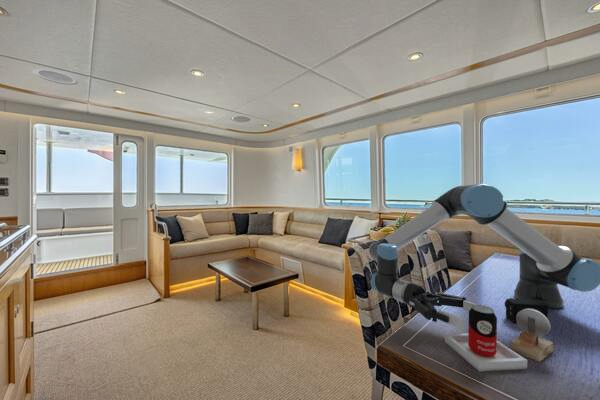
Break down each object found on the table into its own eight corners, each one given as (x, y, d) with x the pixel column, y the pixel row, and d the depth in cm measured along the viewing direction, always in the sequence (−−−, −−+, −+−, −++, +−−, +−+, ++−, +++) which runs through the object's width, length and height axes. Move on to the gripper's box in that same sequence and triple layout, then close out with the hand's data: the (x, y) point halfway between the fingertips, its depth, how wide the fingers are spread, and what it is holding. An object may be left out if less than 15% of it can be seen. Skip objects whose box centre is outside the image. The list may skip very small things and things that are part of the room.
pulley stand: (524, 339, 77) (524, 302, 77) (555, 351, 71) (556, 311, 71) (509, 349, 72) (509, 309, 72) (541, 363, 66) (542, 319, 66)
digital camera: (535, 318, 91) (535, 299, 91) (547, 326, 86) (548, 305, 86) (503, 316, 93) (503, 297, 93) (513, 323, 87) (513, 303, 87)
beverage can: (463, 347, 72) (463, 305, 71) (477, 343, 74) (478, 302, 74) (486, 361, 66) (487, 315, 66) (501, 355, 68) (502, 311, 68)
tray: (485, 339, 77) (485, 332, 77) (527, 368, 64) (527, 360, 64) (444, 341, 76) (444, 334, 76) (478, 371, 63) (478, 362, 63)
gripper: (430, 297, 96) (496, 320, 77) (384, 311, 83) (450, 344, 65) (430, 277, 96) (496, 296, 77) (384, 289, 83) (450, 315, 65)
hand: (475, 318), depth 71 cm, fingers open, 13 cm apart
